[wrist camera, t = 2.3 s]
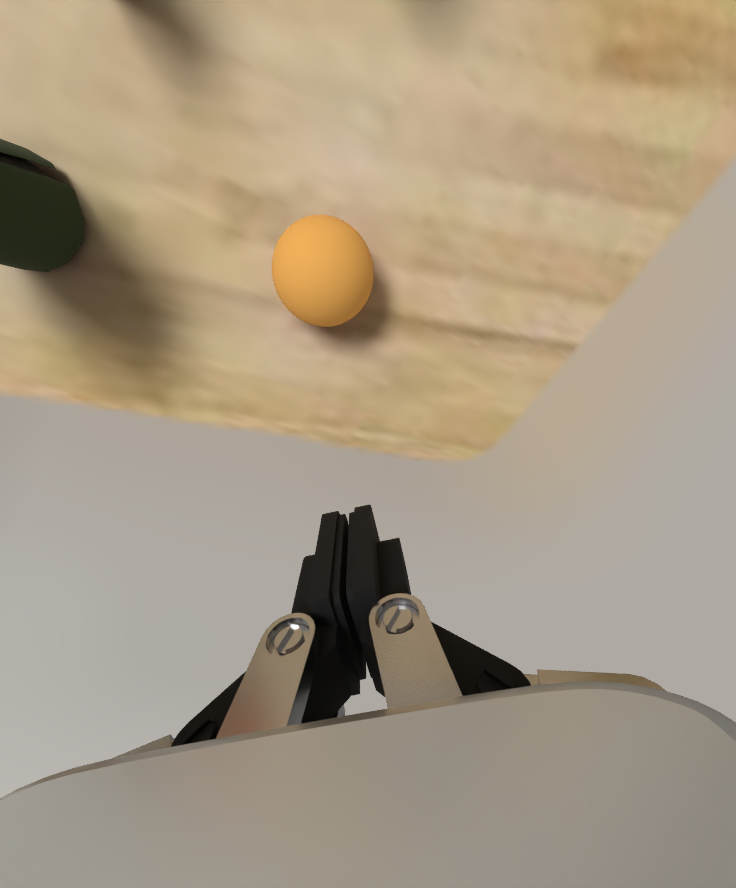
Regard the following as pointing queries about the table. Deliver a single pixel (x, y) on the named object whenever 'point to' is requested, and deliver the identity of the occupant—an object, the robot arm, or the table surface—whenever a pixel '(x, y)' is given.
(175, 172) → the table surface
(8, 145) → the character mug
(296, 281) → the ball
